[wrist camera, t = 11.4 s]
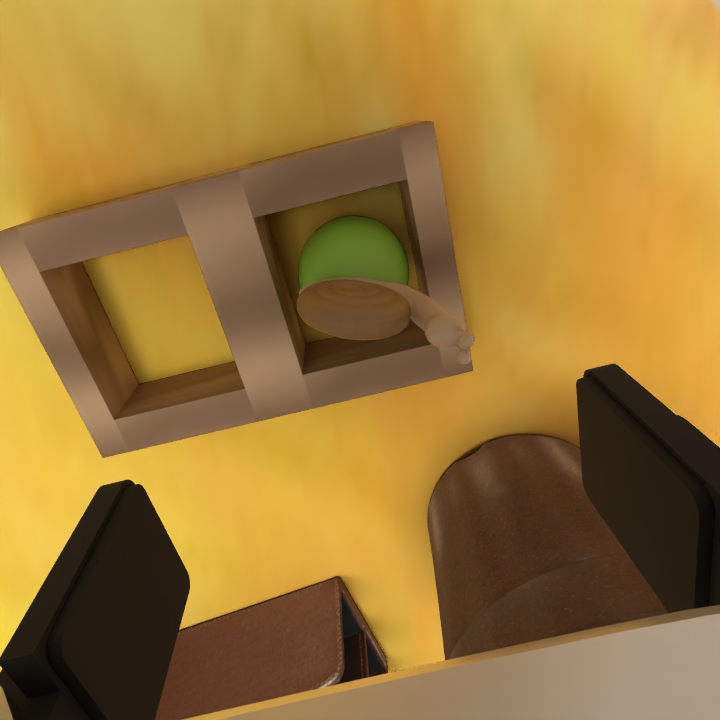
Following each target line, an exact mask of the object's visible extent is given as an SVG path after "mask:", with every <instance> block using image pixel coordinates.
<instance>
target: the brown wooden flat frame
mask: <svg viewBox="0 0 720 720" xmlns="http://www.w3.org/2000/svg"><path fill="white" fill-rule="evenodd" d="M398 181H399V186H400V192H401V197H402V202H403V207H404V212H405V217H406V222H407V228H408V233H409V238H410V243H411V248H412V253H413V258H414V264H415V269H416V274H417V279H418V284H419V289H420V292H421V293H423V294H425V295H427V296H428V297H430V298H432V299H433V300H434V301H436V302H437V303H438V304H439V305H440V306H441V307H442V308H443V309H444V310H445V311H446V313H447V314H450V315H453V316H455V317H456V318H458V319H459V320H460V322H461V324H462V326H463V328H464V332H465V331H467V329H466V323H465V317H464V310H463V304H462V298H461V292H460V285H459V279H458V273H457V267H456V261H455V254H454V248H453V242H452V236H451V229H450V223H449V217H448V211H447V204H446V198H445V192H444V186H443V180H442V173H441V167H440V161H439V155H438V148H437V142H436V136H435V130H434V123H433V122H431V121H416V122H412V123H408V124H404V125H400V126H396V127H392V128H389V129H385V130H381V131H377V132H373V133H369V134H365V135H361V136H357V137H354V138H350V139H346V140H342V141H338V142H334V143H330V144H326V145H322V146H319V147H315V148H311V149H307V150H303V151H299V152H295V153H291V154H287V155H284V156H280V157H276V158H272V159H268V160H264V161H260V162H256V163H252V164H249V165H245V166H241V167H237V168H233V169H229V170H225V171H221V172H217V173H214V174H210V175H206V176H202V177H198V178H194V179H190V180H186V181H182V182H179V183H175V184H171V185H167V186H163V187H159V188H155V189H151V190H147V191H144V192H140V193H136V194H132V195H128V196H124V197H120V198H116V199H112V200H109V201H105V202H101V203H97V204H93V205H89V206H85V207H81V208H77V209H74V210H70V211H66V212H62V213H58V214H54V215H50V216H46V217H42V218H39V219H35V220H31V221H28V222H25V223H22V224H19V225H17V226H14V227H11V228H8V229H5V230H2V231H0V266H1V268H2V270H3V272H4V274H5V276H6V278H7V279H8V281H9V283H10V285H11V287H12V289H13V291H14V293H15V294H16V296H17V298H18V300H19V302H20V304H21V306H22V308H23V309H24V311H25V313H26V315H27V317H28V319H29V321H30V323H31V324H32V326H33V328H34V330H35V332H36V334H37V336H38V338H39V339H40V341H41V343H42V345H43V347H44V349H45V351H46V352H47V354H48V356H49V358H50V360H51V362H52V364H53V366H54V367H55V369H56V371H57V373H58V375H59V377H60V379H61V381H62V382H63V384H64V386H65V388H66V390H67V392H68V394H69V396H70V397H71V399H72V401H73V403H74V405H75V407H76V409H77V411H78V412H79V414H80V416H81V418H82V420H83V422H84V424H85V425H86V427H87V429H88V431H89V433H90V435H91V437H92V439H93V440H94V442H95V444H96V446H97V448H98V450H99V452H100V454H101V455H102V457H103V458H105V457H109V456H113V455H117V454H122V453H126V452H130V451H134V450H139V449H143V448H147V447H151V446H156V445H160V444H164V443H168V442H173V441H177V440H181V439H185V438H190V437H194V436H198V435H202V434H207V433H211V432H215V431H219V430H224V429H228V428H232V427H236V426H241V425H245V424H249V423H253V422H258V421H262V420H266V419H270V418H275V417H279V416H283V415H287V414H292V413H296V412H300V411H304V410H309V409H313V408H317V407H321V406H326V405H330V404H334V403H338V402H343V401H347V400H351V399H355V398H360V397H364V396H368V395H372V394H377V393H381V392H385V391H389V390H394V389H398V388H402V387H406V386H411V385H415V384H419V383H423V382H428V381H432V380H436V379H440V378H445V377H449V376H453V375H457V374H462V373H466V372H470V371H473V366H472V360H470V362H469V363H468V364H466V365H463V364H460V363H459V362H458V361H457V358H456V355H457V353H458V352H459V351H460V349H459V348H458V347H457V346H454V347H451V348H439V347H436V346H434V345H433V344H431V343H430V342H429V341H428V339H427V337H426V335H425V331H424V330H423V329H421V328H420V327H419V326H418V325H416V324H415V323H414V322H413V321H412V320H411V319H410V320H409V323H408V325H407V326H406V327H405V328H404V329H403V330H402V331H401V332H400V333H398V334H396V335H394V336H391V337H388V338H384V339H378V340H351V339H343V338H338V337H334V338H330V339H325V340H321V341H317V342H313V343H309V344H305V342H304V339H303V335H302V332H301V329H300V326H299V322H298V319H297V316H296V312H295V309H294V306H293V302H292V299H291V296H290V293H289V289H288V286H287V283H286V279H285V276H284V273H283V270H282V266H281V263H280V260H279V256H278V253H277V250H276V247H275V243H274V240H273V237H272V233H271V230H270V227H269V224H268V220H267V217H266V215H267V214H271V213H275V212H279V211H283V210H287V209H291V208H295V207H299V206H303V205H307V204H311V203H315V202H319V201H323V200H327V199H331V198H334V197H338V196H342V195H346V194H350V193H354V192H358V191H362V190H366V189H370V188H374V187H378V186H382V185H386V184H390V183H394V182H398ZM184 235H188V236H189V238H190V241H191V244H192V246H193V249H194V252H195V255H196V257H197V260H198V263H199V265H200V268H201V271H202V273H203V276H204V279H205V282H206V284H207V287H208V290H209V292H210V295H211V298H212V300H213V303H214V306H215V309H216V311H217V314H218V317H219V319H220V322H221V325H222V327H223V330H224V333H225V335H226V338H227V341H228V344H229V346H230V349H231V352H232V354H233V357H234V360H235V361H234V362H230V363H226V364H222V365H217V366H213V367H209V368H205V369H201V370H197V371H192V372H188V373H184V374H180V375H176V376H172V377H168V378H163V379H159V380H155V381H151V382H147V383H143V384H138V382H137V380H136V378H135V375H134V373H133V371H132V369H131V367H130V365H129V362H128V360H127V358H126V356H125V354H124V352H123V350H122V347H121V345H120V343H119V341H118V339H117V337H116V335H115V332H114V330H113V328H112V326H111V324H110V322H109V320H108V317H107V315H106V313H105V311H104V309H103V307H102V305H101V302H100V300H99V298H98V296H97V294H96V292H95V290H94V287H93V285H92V283H91V281H90V279H89V277H88V275H87V272H86V270H85V268H84V266H83V264H82V262H81V261H85V260H89V259H93V258H97V257H101V256H105V255H109V254H113V253H117V252H121V251H125V250H129V249H133V248H136V247H140V246H144V245H148V244H152V243H156V242H160V241H164V240H168V239H172V238H176V237H180V236H184ZM458 345H459V346H460V347H461V349H467V350H469V351H470V348H469V347H464V346H462V345H461V344H460V342H459V343H458Z"/></svg>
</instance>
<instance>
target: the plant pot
mask: <svg viewBox="0 0 720 720" xmlns="http://www.w3.org/2000/svg"><path fill="white" fill-rule="evenodd" d="M428 531H429V536H430V543H431V550H432V557H433V564H434V571H435V579H436V587H437V594H438V602H439V611H440V619H441V628H442V636H443V645H444V654H445V660H450V659H454V658H459V657H464V656H468V655H473V654H478V653H482V652H487V651H491V650H496V649H501V648H505V647H510V646H514V645H519V644H524V643H528V642H533V641H538V640H542V639H547V638H551V637H556V636H561V635H565V634H570V633H575V632H579V631H584V630H588V629H593V628H598V627H603V626H608V625H613V624H618V623H623V622H628V621H633V620H638V619H643V618H648V617H653V616H658V615H664V614H669V613H668V611H667V610H666V609H665V607H664V606H663V604H662V603H661V601H660V600H659V598H658V597H657V596H656V594H655V593H654V591H653V590H652V588H651V587H650V586H649V584H648V583H647V581H646V580H645V578H644V577H643V576H642V574H641V573H640V571H639V570H638V568H637V567H636V566H635V564H634V563H633V561H632V560H631V558H630V557H629V556H628V554H627V553H626V551H625V550H624V548H623V547H622V546H621V544H620V543H619V541H618V540H617V538H616V537H615V535H614V534H613V533H612V531H611V530H610V528H609V527H608V525H607V524H606V523H605V521H604V520H603V518H602V517H601V515H600V514H599V513H598V511H597V510H596V508H595V507H594V505H593V504H592V503H591V501H590V500H589V498H588V496H587V494H586V492H585V489H584V486H583V481H582V468H581V452H580V448H578V447H576V446H575V445H573V444H571V443H568V442H566V441H563V440H560V439H557V438H553V437H549V436H542V435H515V436H507V437H501V438H498V439H496V440H493V441H490V442H487V443H484V444H483V445H482V446H481V447H480V448H479V450H478V451H477V452H475V453H474V454H472V455H470V456H469V457H467V458H465V459H462V460H459V461H456V462H455V463H454V464H453V465H452V466H451V467H450V468H449V469H448V470H447V471H446V472H445V474H444V475H443V476H442V478H441V479H440V481H439V482H438V484H437V486H436V488H435V490H434V492H433V495H432V497H431V501H430V504H429V509H428Z"/></svg>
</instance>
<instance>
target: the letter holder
mask: <svg viewBox="0 0 720 720" xmlns="http://www.w3.org/2000/svg"><path fill="white" fill-rule="evenodd" d="M387 673H388V665H387V661H386V658H385V656H384V654H383V652H382V650H381V648H380V647H379V645H378V643H377V642H376V640H375V638H374V636H373V634H372V633H371V631H370V629H369V627H368V626H367V624H366V622H365V620H364V619H363V617H362V615H361V613H360V611H359V610H358V608H357V606H356V605H355V603H354V601H353V599H352V598H351V596H350V594H349V592H348V591H347V589H346V587H345V586H344V584H343V582H342V581H341V579H340V578H339V577H336V578H333V579H330V580H328V581H324V582H322V583H318V584H316V585H314V586H310V587H307V588H304V589H300V590H298V591H295V592H292V593H290V594H286V595H284V596H281V597H278V598H275V599H272V600H269V601H267V602H264V603H260V604H258V605H255V606H252V607H248V608H246V609H242V610H240V611H236V612H234V613H231V614H228V615H225V616H222V617H219V618H217V619H214V620H211V621H208V622H205V623H201V624H199V625H195V626H193V627H190V628H188V629H184V630H182V631H179V632H178V635H177V639H176V643H175V646H174V650H173V654H172V658H171V661H170V665H169V669H168V672H167V676H166V680H165V684H164V687H163V691H162V695H161V699H160V702H159V706H158V710H157V714H156V717H155V720H183V719H187V718H192V717H196V716H200V715H205V714H209V713H214V712H218V711H222V710H227V709H231V708H235V707H240V706H244V705H249V704H253V703H257V702H262V701H266V700H270V699H275V698H279V697H284V696H288V695H292V694H297V693H301V692H306V691H310V690H315V689H319V688H324V687H328V686H333V685H337V684H342V683H346V682H351V681H355V680H360V679H364V678H369V677H373V676H378V675H382V674H387Z"/></svg>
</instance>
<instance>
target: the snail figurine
mask: <svg viewBox="0 0 720 720" xmlns="http://www.w3.org/2000/svg"><path fill="white" fill-rule="evenodd" d="M298 279H299V285H300V291H299V297H298V299H297V311H298V314H299V315H300V317H301V319H302V320H303V321H304V322H305V323H306V324H307V325H308V326H310V327H312V328H313V329H315V330H317V331H319V332H321V333H324V334H327V335H330V336H334V337H338V338H343V339H351V340H378V339H384V338H388V337H391V336H394V335H396V334H398V333H400V332H401V331H402V330H403V329H404V328H405V327H406V326H407V325H408V323H409V320H410V319H411V320H412V321H413V322H414V323H415V324H416V325H418V326H419V327H420V328H421V329H423V330H424V331H425V335H426V337H427V339H428V341H429V342H430V343H431V344H433V345H434V346H436V347H439V348H451V347H454V346H457V347H458V348H459V349H460V351H459V352H458V353H457V355H456V358H457V361H458V362H459V363H460V364H463V365H466V364H468V363H469V362H470V360H471V353H470V351H469V350H467V349H461V347H460V346H459V345H458V343H459V342H460V344H461V345H462V346H464V347H470V346H472V344H473V342H474V335H473V333H471V332H469V331H465V332H464V328H463V326H462V324H461V322H460V320H459V319H458V318H456V317H455V316H453V315H450V314H447V313H446V311H445V310H444V309H443V308H442V307H441V306H440V305H439V304H438V303H437V302H436V301H434V300H433V299H432V298H430V297H428V296H427V295H425V294H423V293H421V292H419V291H417V290H415V289H413V288H411V287H409V286H407V285H408V280H409V265H408V259H407V256H406V253H405V250H404V248H403V246H402V244H401V242H400V241H399V239H398V238H397V237H396V236H395V234H394V233H393V232H392V231H391V230H390V229H388V228H387V227H386V226H384V225H383V224H381V223H379V222H377V221H375V220H373V219H370V218H366V217H361V216H346V217H340V218H337V219H334V220H332V221H329V222H327V223H326V224H324V225H322V226H321V227H320V228H318V229H317V230H316V231H315V232H314V233H313V234H312V235H311V237H310V238H309V239H308V241H307V242H306V244H305V246H304V248H303V250H302V253H301V256H300V259H299V265H298Z"/></svg>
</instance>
